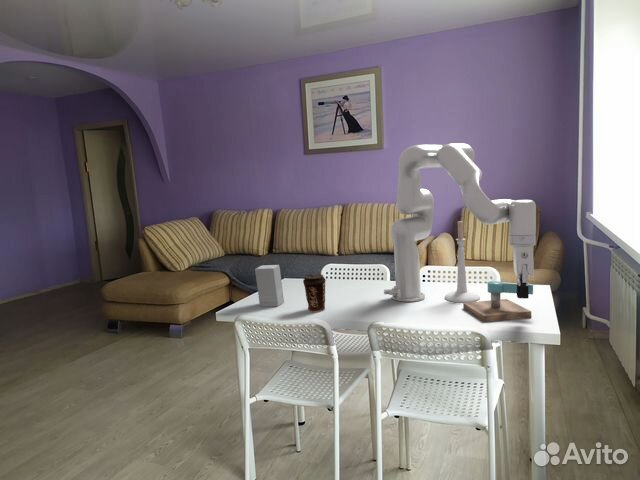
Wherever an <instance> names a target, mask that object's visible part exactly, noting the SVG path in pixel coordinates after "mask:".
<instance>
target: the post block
mask: <svg viewBox="0 0 640 480" xmlns="http://www.w3.org/2000/svg"><path fill="white" fill-rule="evenodd" d="M462 304H463V306H462V307H463V310H466V312H468V313H470V314H471V315H473V316H474V317H476V318H477V319H479V320H480V321H482V322H484V323H487V322H496V321H497V322H499V321H507V320H508V321H509V320H517V319H518V320H519V319H529V318H530V319H531V318H532V311H531V310H529V308H525V307H523V306H522V305H519V304H517V303H515V302H514V301H511V300H510V299H508V298H505V299H503V298H502V299H501V293H498V294H495V293H490V300H482V301H481V300H478V301H475V302H468V303H462Z"/></svg>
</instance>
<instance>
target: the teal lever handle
mask: <svg viewBox="0 0 640 480" xmlns="http://www.w3.org/2000/svg"><path fill="white" fill-rule="evenodd" d="M517 285H518V284H517V282H514V283H513V282H503V281H495V280H493V281H488V282H487V293H489V294H491V293H495V294H498V293H500V294H503V293H504V294H505V293H506V294H517ZM528 286H529V295H534V284H531V283H528Z"/></svg>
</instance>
